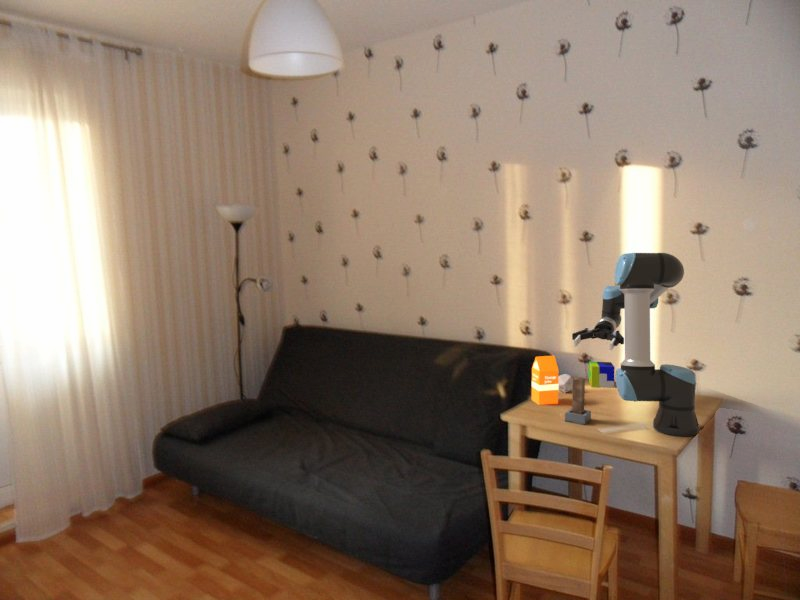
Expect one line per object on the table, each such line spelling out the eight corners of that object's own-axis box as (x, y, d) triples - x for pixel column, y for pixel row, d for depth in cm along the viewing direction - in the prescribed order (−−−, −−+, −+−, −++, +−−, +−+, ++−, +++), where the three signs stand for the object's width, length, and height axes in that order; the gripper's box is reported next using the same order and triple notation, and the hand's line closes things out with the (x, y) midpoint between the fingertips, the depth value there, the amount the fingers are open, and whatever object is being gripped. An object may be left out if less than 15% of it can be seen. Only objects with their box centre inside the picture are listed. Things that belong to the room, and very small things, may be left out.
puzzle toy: (614, 388, 261) (614, 367, 260) (591, 387, 263) (591, 366, 262) (610, 382, 271) (610, 362, 270) (588, 381, 273) (589, 361, 272)
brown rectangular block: (584, 418, 217) (584, 378, 215) (581, 421, 214) (581, 380, 212) (575, 417, 219) (575, 377, 217) (572, 419, 216) (572, 379, 214)
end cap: (590, 419, 217) (591, 410, 217) (584, 424, 211) (584, 415, 211) (571, 416, 222) (571, 407, 221) (565, 421, 216) (565, 412, 215)
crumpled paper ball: (553, 394, 254) (565, 380, 249) (550, 381, 261) (561, 367, 256) (569, 399, 256) (580, 385, 251) (565, 386, 263) (576, 372, 258)
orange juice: (531, 399, 245) (531, 354, 242) (550, 398, 246) (550, 353, 244) (539, 405, 237) (539, 358, 235) (558, 403, 239) (559, 357, 236)
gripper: (636, 339, 232) (626, 357, 215) (575, 334, 245) (561, 350, 228) (636, 322, 230) (626, 339, 213) (575, 318, 243) (560, 333, 226)
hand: (592, 345), depth 220 cm, fingers open, 13 cm apart
